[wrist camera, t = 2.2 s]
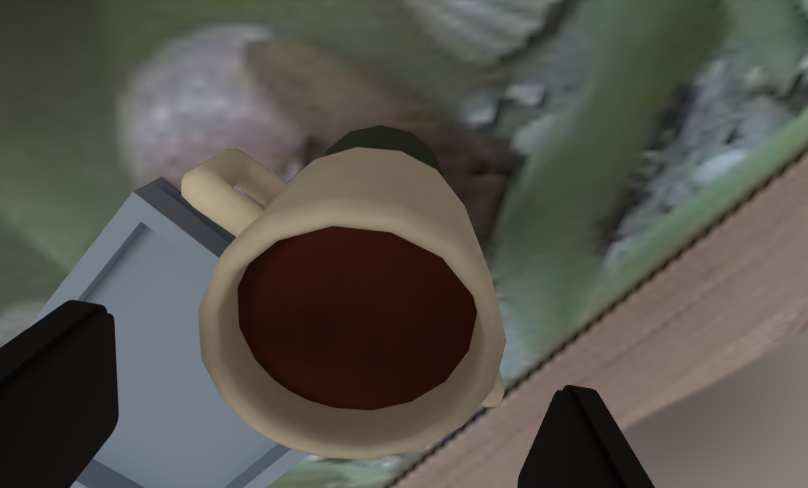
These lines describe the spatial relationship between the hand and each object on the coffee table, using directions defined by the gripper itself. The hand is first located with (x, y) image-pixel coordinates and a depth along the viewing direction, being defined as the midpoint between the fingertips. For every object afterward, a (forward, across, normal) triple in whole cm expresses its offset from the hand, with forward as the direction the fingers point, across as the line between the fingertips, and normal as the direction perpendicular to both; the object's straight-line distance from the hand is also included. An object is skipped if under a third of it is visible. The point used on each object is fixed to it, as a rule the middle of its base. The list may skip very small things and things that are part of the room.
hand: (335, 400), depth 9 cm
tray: (+14, +9, +14) cm, 22 cm away
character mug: (+14, 0, -1) cm, 14 cm away
